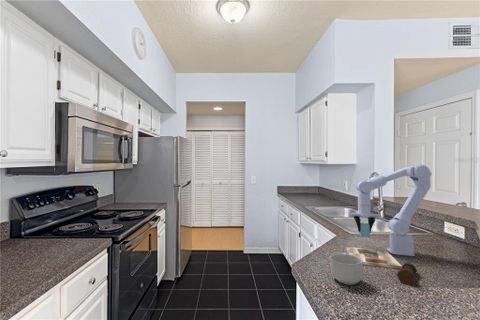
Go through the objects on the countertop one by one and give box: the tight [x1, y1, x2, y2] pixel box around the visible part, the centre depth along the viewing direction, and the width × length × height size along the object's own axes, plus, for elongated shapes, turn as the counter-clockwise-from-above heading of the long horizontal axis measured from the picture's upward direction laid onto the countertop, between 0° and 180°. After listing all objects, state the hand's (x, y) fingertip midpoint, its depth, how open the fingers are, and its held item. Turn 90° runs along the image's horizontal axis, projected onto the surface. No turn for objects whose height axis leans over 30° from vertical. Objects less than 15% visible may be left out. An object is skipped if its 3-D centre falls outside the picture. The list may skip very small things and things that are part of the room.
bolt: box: [396, 262, 418, 286], centre depth 89 cm, size 6×5×15 cm
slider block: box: [358, 222, 371, 238], centre depth 121 cm, size 4×5×6 cm
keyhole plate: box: [345, 246, 403, 270], centre depth 108 cm, size 18×20×2 cm
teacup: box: [329, 252, 364, 286], centre depth 86 cm, size 14×11×8 cm
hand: (364, 231), depth 121 cm, fingers closed on slider block, 4 cm apart
